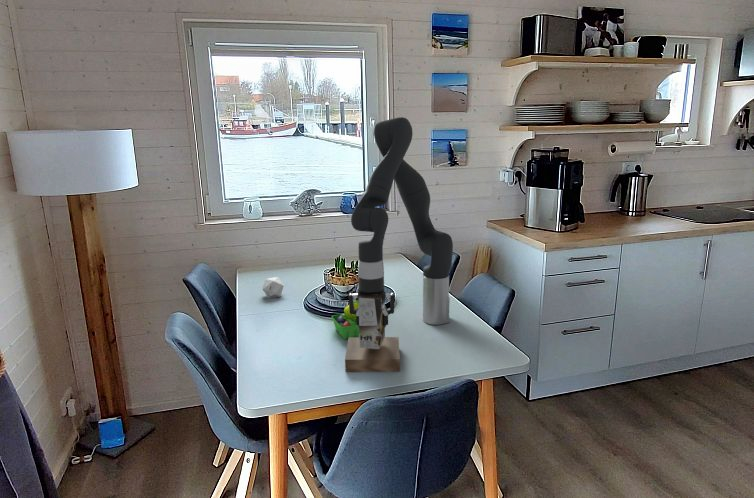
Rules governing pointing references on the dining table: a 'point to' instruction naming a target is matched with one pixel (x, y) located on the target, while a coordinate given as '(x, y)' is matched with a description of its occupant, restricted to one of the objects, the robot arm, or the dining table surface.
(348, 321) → the fruit basket
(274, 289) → the die
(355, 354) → the wooden block
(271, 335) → the dining table surface
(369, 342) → the coffee box
